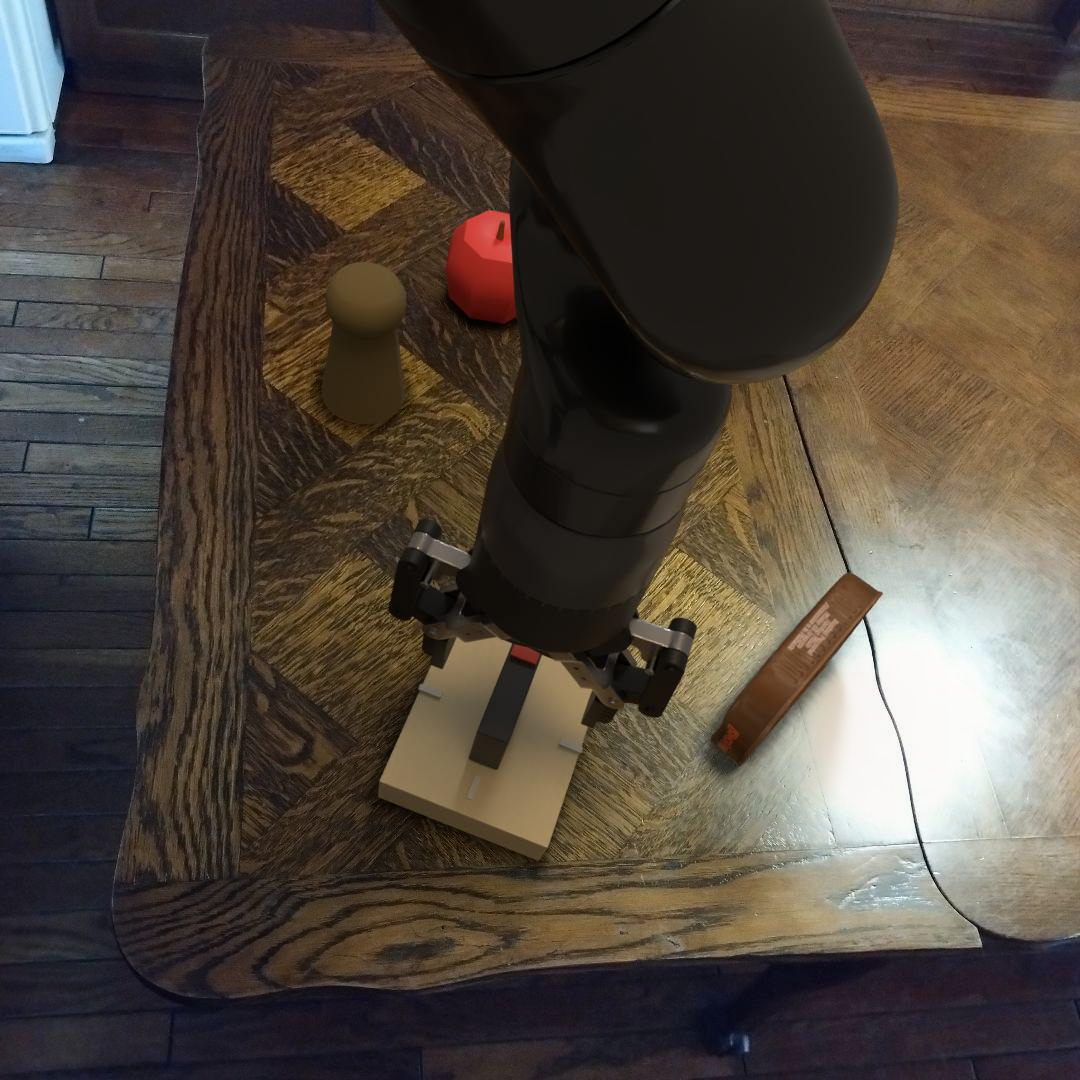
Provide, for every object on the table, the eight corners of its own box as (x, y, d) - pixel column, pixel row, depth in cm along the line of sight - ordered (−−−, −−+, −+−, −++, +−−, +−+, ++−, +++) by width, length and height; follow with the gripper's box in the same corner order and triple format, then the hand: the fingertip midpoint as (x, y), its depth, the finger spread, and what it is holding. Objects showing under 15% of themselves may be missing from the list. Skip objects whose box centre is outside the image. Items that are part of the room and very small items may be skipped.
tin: (724, 786, 61) (775, 739, 54) (686, 751, 62) (730, 700, 55) (850, 636, 68) (909, 577, 61) (814, 606, 69) (867, 545, 62)
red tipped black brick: (497, 771, 56) (509, 742, 52) (467, 759, 56) (477, 730, 52) (531, 680, 59) (545, 646, 55) (503, 669, 59) (515, 635, 55)
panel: (540, 862, 57) (550, 848, 54) (375, 796, 57) (377, 779, 54) (600, 683, 63) (611, 662, 60) (452, 625, 63) (457, 602, 61)
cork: (303, 393, 71) (297, 280, 62) (358, 347, 74) (361, 233, 65) (368, 438, 70) (372, 331, 61) (421, 389, 73) (433, 280, 64)
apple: (455, 344, 76) (466, 266, 69) (427, 270, 79) (435, 189, 73) (551, 330, 78) (571, 254, 72) (520, 259, 82) (536, 180, 75)
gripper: (370, 531, 37) (365, 694, 51) (722, 667, 37) (622, 795, 51) (444, 393, 41) (421, 578, 55) (763, 513, 41) (660, 670, 55)
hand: (517, 681), depth 53 cm, fingers open, 8 cm apart
